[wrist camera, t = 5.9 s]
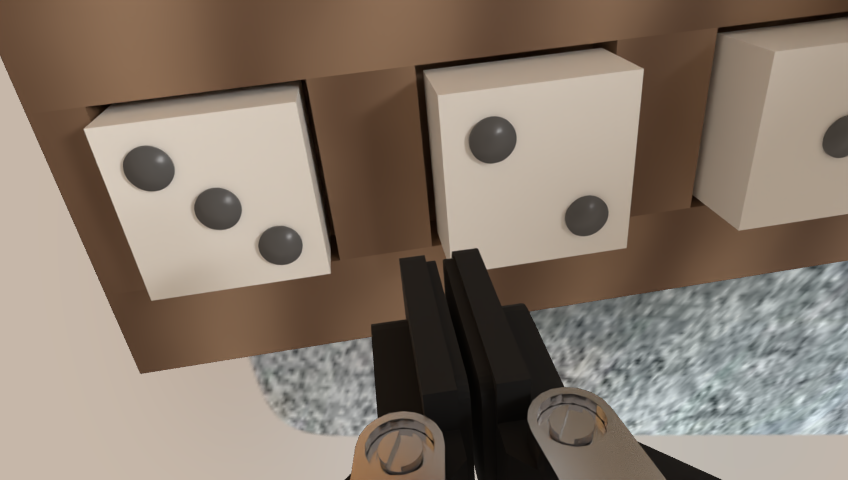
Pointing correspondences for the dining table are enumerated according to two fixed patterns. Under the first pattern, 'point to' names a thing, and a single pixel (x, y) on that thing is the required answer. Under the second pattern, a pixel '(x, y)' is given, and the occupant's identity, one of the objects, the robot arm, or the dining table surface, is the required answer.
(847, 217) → the panel
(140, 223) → the tile three
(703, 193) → the tile one
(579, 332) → the dining table surface
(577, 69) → the tile two
